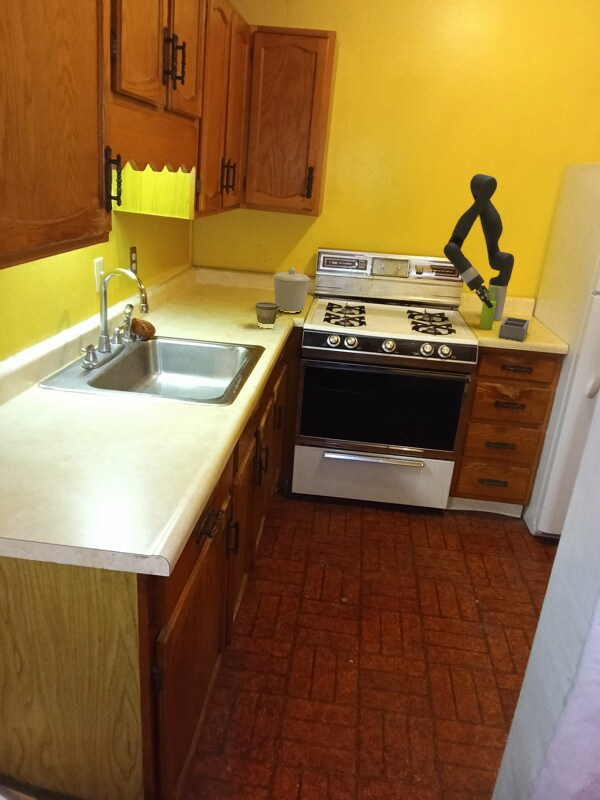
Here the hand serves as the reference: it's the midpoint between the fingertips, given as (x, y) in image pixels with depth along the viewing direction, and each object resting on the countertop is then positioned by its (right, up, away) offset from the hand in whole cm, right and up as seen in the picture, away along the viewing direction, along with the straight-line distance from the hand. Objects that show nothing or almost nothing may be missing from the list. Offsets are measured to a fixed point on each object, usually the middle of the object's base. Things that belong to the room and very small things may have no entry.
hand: (492, 306), depth 290 cm
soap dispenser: (-2, -10, +4) cm, 11 cm away
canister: (-96, -1, +10) cm, 96 cm away
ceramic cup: (-104, -13, -23) cm, 107 cm away
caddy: (+7, -14, -6) cm, 17 cm away
